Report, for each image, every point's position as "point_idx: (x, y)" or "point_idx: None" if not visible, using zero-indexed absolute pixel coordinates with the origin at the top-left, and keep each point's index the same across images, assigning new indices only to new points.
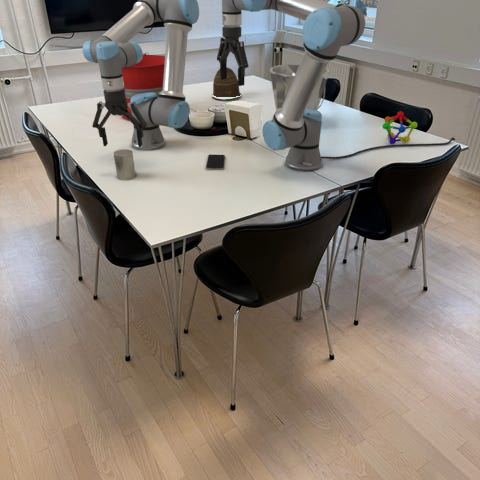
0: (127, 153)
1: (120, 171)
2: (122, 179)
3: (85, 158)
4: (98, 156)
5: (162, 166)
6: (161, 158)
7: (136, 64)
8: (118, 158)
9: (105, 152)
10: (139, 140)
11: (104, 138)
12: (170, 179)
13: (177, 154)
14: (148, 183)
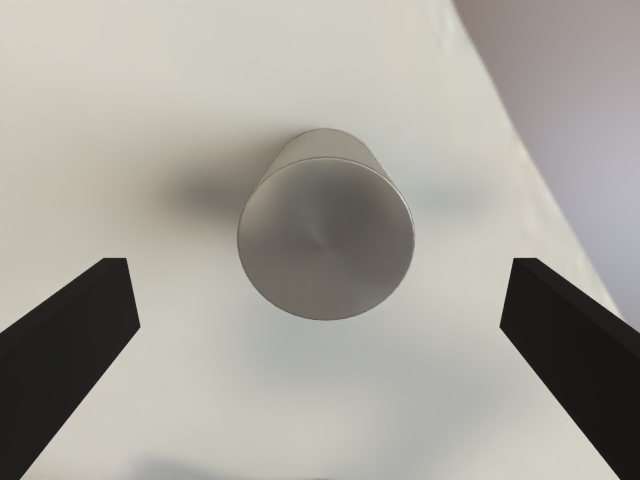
0: (275, 225)
1: (341, 136)
2: (333, 129)
3: None
4: (535, 413)
5: (169, 325)
6: (212, 409)
7: None
8: (348, 154)
9: (506, 453)
10: (53, 298)
11: (569, 316)
12: (46, 160)
13: (153, 451)
14: (152, 87)
